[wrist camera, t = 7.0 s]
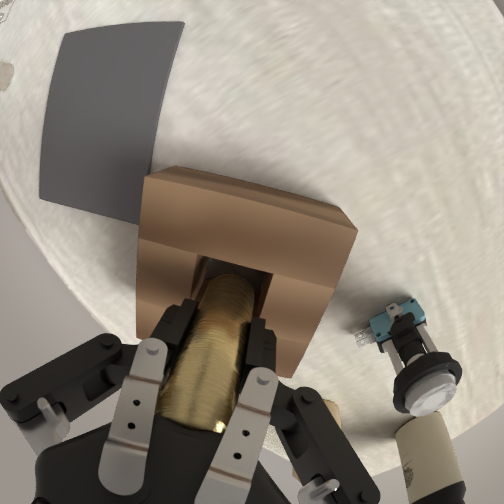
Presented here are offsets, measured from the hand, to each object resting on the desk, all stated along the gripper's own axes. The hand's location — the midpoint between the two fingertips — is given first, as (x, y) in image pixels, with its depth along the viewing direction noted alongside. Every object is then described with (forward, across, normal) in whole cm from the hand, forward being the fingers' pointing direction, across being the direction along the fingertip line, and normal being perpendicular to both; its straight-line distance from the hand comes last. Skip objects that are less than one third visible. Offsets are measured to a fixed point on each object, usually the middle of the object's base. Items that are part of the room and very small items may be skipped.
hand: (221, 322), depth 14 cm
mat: (+7, +14, -9) cm, 18 cm away
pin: (+3, 0, 0) cm, 3 cm away
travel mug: (+8, -32, +20) cm, 38 cm away
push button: (+8, -14, +2) cm, 16 cm away
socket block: (+7, 0, 0) cm, 7 cm away
